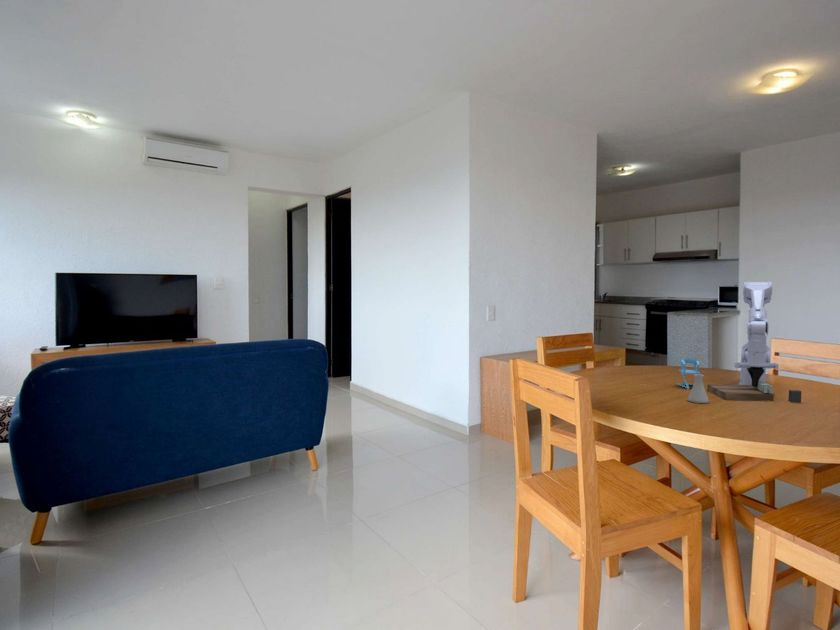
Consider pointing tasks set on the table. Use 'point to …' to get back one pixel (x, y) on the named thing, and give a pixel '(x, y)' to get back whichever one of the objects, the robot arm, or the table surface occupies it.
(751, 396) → the stool seat
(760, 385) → the folding leg
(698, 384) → the flask
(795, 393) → the block
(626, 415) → the table surface
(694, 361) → the chair
